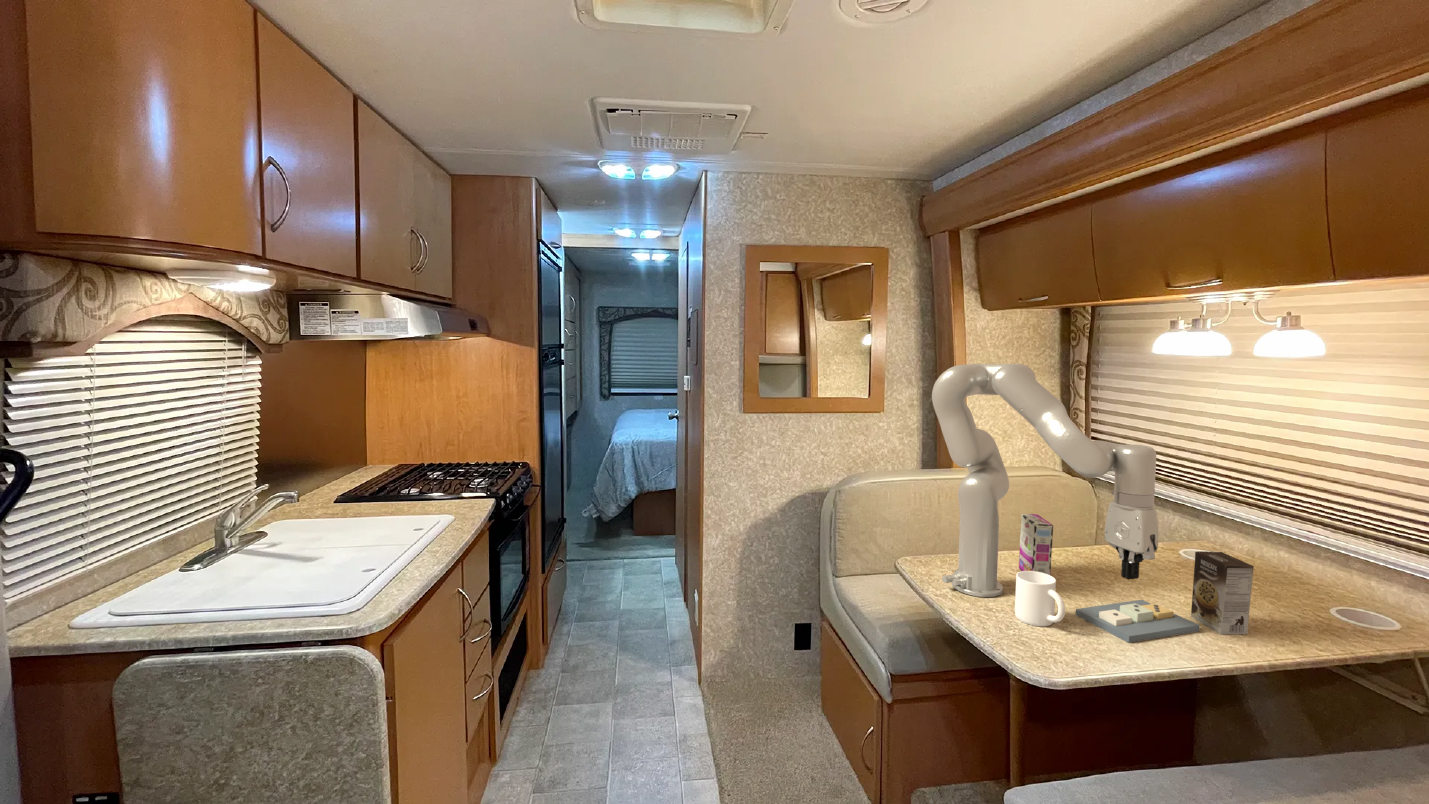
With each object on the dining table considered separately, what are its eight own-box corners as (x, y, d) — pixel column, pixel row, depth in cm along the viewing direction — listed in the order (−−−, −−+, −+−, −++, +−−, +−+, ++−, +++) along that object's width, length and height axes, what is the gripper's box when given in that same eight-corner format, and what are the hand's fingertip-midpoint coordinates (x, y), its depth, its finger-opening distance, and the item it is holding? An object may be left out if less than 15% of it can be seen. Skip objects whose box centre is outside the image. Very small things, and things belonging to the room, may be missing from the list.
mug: (1076, 631, 137) (1078, 587, 136) (1048, 637, 134) (1050, 592, 133) (1033, 609, 148) (1035, 568, 147) (1006, 614, 145) (1008, 573, 144)
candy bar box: (1051, 584, 163) (1054, 525, 162) (1031, 583, 164) (1034, 524, 162) (1036, 568, 174) (1038, 513, 173) (1017, 568, 175) (1020, 512, 173)
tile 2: (1137, 623, 138) (1137, 612, 137) (1119, 614, 142) (1120, 604, 142) (1152, 620, 139) (1153, 610, 138) (1134, 612, 143) (1135, 602, 143)
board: (1128, 642, 131) (1129, 636, 131) (1075, 615, 145) (1075, 609, 144) (1199, 631, 136) (1199, 624, 136) (1141, 605, 150) (1141, 599, 149)
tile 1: (1115, 629, 136) (1116, 619, 136) (1098, 620, 140) (1099, 610, 140) (1131, 627, 137) (1132, 616, 137) (1114, 618, 142) (1114, 608, 141)
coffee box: (1189, 616, 143) (1193, 550, 142) (1216, 616, 143) (1221, 550, 142) (1219, 635, 134) (1225, 565, 133) (1249, 635, 134) (1255, 565, 133)
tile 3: (1157, 623, 139) (1158, 613, 139) (1139, 614, 143) (1140, 605, 143) (1172, 620, 140) (1173, 610, 140) (1154, 612, 144) (1155, 602, 144)
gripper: (1092, 493, 143) (1089, 567, 145) (1150, 509, 129) (1146, 592, 130) (1118, 490, 145) (1115, 564, 146) (1178, 506, 130) (1174, 588, 132)
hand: (1129, 577), depth 138 cm, fingers closed
